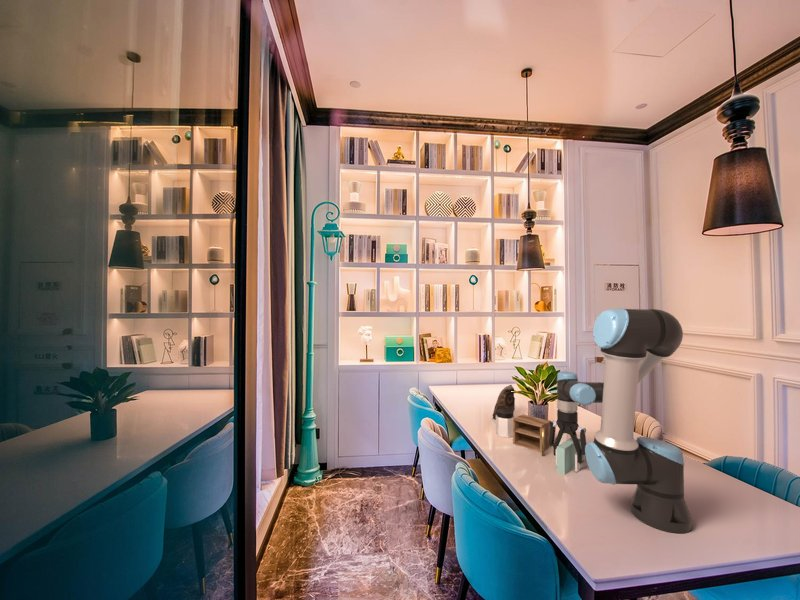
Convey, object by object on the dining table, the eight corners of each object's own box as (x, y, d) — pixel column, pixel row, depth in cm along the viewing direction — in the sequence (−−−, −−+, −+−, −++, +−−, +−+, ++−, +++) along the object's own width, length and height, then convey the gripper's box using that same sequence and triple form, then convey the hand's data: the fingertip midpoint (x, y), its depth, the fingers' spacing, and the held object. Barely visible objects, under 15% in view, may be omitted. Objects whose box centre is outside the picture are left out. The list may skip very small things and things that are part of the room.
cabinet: (541, 452, 156) (541, 425, 157) (513, 443, 167) (513, 418, 167) (551, 446, 163) (551, 420, 164) (523, 438, 174) (523, 414, 174)
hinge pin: (544, 456, 152) (543, 428, 152) (541, 455, 153) (541, 428, 153) (545, 455, 153) (545, 428, 153) (542, 455, 154) (542, 427, 154)
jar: (515, 438, 174) (515, 413, 175) (499, 438, 174) (499, 413, 174) (509, 431, 183) (509, 408, 184) (494, 431, 183) (494, 408, 183)
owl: (511, 417, 209) (511, 383, 210) (522, 423, 197) (522, 388, 197) (491, 418, 206) (491, 384, 207) (502, 425, 194) (502, 388, 195)
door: (572, 458, 151) (572, 434, 151) (584, 461, 148) (584, 437, 148) (554, 471, 138) (554, 446, 138) (567, 475, 135) (566, 449, 135)
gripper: (597, 413, 137) (597, 472, 137) (547, 403, 152) (547, 456, 151) (590, 417, 132) (590, 479, 132) (539, 406, 147) (539, 462, 146)
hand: (567, 467), depth 141 cm, fingers open, 7 cm apart
